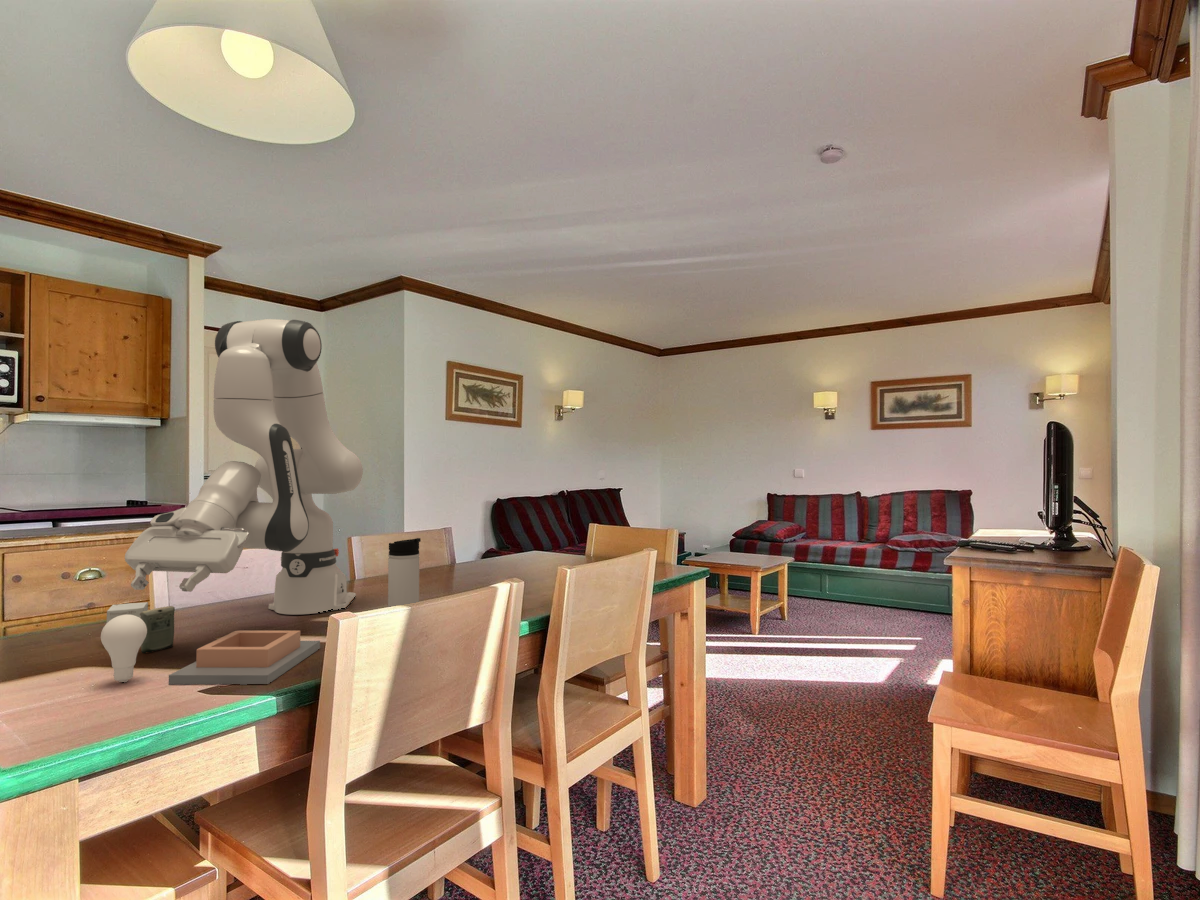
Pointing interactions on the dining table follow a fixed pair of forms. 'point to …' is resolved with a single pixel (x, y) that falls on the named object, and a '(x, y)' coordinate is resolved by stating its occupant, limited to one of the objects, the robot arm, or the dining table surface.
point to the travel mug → (403, 572)
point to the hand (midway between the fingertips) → (160, 588)
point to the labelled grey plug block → (158, 628)
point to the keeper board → (246, 658)
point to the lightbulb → (123, 643)
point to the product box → (126, 610)
